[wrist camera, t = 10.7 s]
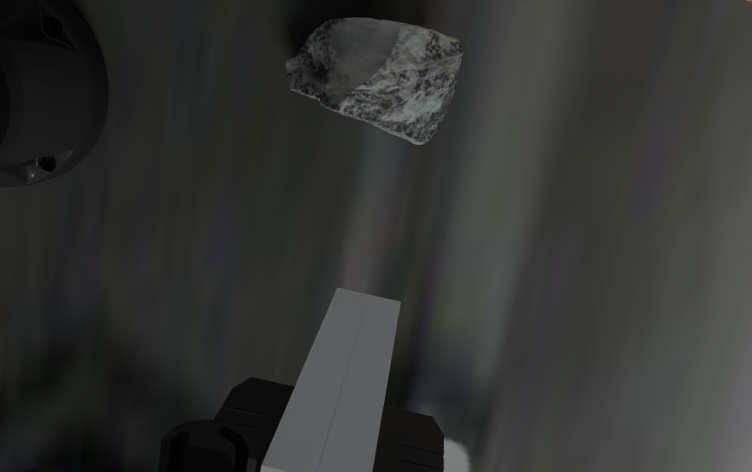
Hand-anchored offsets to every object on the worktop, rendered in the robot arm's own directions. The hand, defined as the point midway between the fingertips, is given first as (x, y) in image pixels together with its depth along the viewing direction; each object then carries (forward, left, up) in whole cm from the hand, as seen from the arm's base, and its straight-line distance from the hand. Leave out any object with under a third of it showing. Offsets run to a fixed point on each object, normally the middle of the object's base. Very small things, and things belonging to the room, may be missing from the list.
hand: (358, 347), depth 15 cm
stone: (-3, +4, -33) cm, 33 cm away
